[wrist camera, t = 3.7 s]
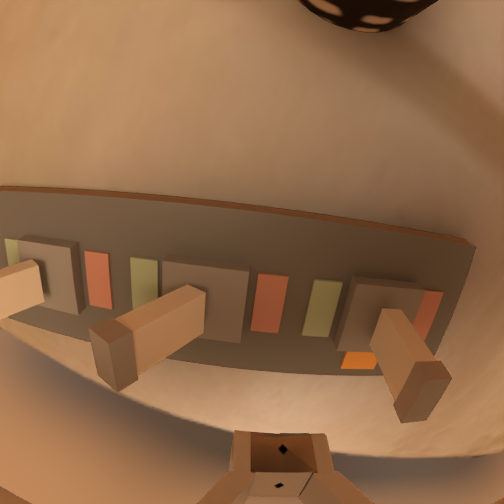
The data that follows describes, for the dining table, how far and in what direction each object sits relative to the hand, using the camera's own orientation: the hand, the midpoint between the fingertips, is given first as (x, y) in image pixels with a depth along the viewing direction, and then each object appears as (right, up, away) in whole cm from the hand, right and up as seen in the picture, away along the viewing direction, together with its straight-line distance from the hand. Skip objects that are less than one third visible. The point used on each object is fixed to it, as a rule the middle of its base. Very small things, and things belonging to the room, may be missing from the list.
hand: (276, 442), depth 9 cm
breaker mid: (-3, +3, +7) cm, 9 cm away
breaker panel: (-3, +4, +10) cm, 11 cm away
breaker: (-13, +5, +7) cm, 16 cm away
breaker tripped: (+7, +2, +8) cm, 10 cm away
